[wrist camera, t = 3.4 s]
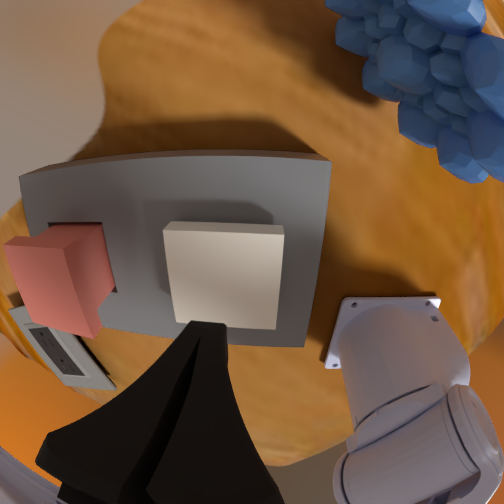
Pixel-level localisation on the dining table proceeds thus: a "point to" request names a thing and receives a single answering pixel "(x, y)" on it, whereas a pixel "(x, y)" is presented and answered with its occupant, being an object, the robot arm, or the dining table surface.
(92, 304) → the red plunger
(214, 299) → the white plunger
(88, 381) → the electrical outlet
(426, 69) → the grapes
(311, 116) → the dining table surface
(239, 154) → the panel
